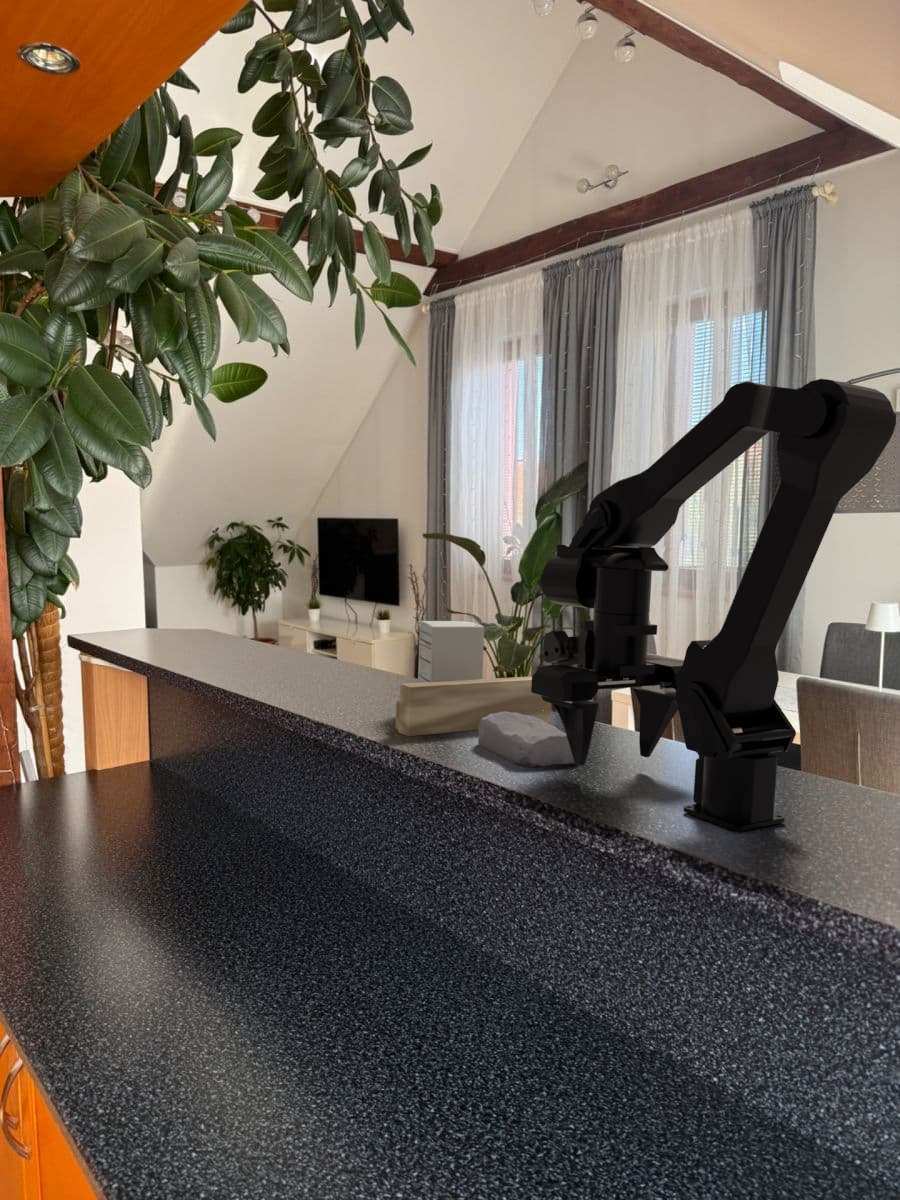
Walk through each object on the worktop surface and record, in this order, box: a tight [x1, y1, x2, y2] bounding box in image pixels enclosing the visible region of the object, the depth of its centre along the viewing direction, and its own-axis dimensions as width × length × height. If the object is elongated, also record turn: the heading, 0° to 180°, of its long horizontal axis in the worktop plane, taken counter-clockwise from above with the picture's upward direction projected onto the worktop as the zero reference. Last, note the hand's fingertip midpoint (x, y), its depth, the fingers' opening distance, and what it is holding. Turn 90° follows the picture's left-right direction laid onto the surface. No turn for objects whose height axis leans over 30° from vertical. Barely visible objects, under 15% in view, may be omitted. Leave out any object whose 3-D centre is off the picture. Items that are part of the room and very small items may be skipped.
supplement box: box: [417, 620, 485, 683], centre depth 124 cm, size 7×7×13 cm
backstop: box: [395, 675, 553, 737], centre depth 118 cm, size 4×22×6 cm, turn 122°
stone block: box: [477, 712, 575, 768], centre depth 104 cm, size 12×5×10 cm
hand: (612, 760), depth 96 cm, fingers open, 9 cm apart
